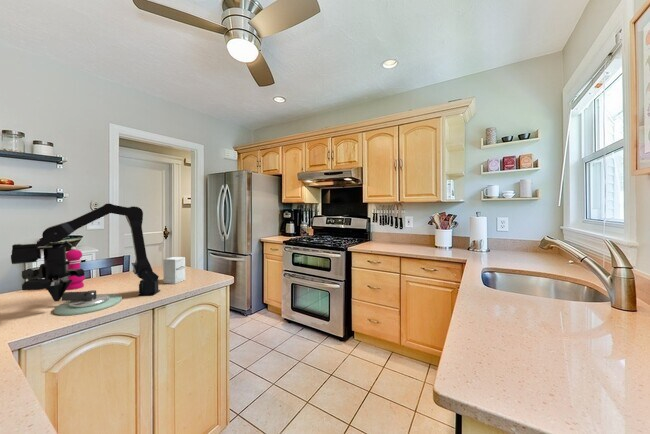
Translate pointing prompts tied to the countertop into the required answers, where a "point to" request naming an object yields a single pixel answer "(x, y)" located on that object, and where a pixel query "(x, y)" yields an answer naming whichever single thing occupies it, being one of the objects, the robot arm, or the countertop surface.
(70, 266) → the pepper mill
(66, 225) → the robot arm
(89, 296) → the dial
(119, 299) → the dial plate
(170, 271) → the supplement box
